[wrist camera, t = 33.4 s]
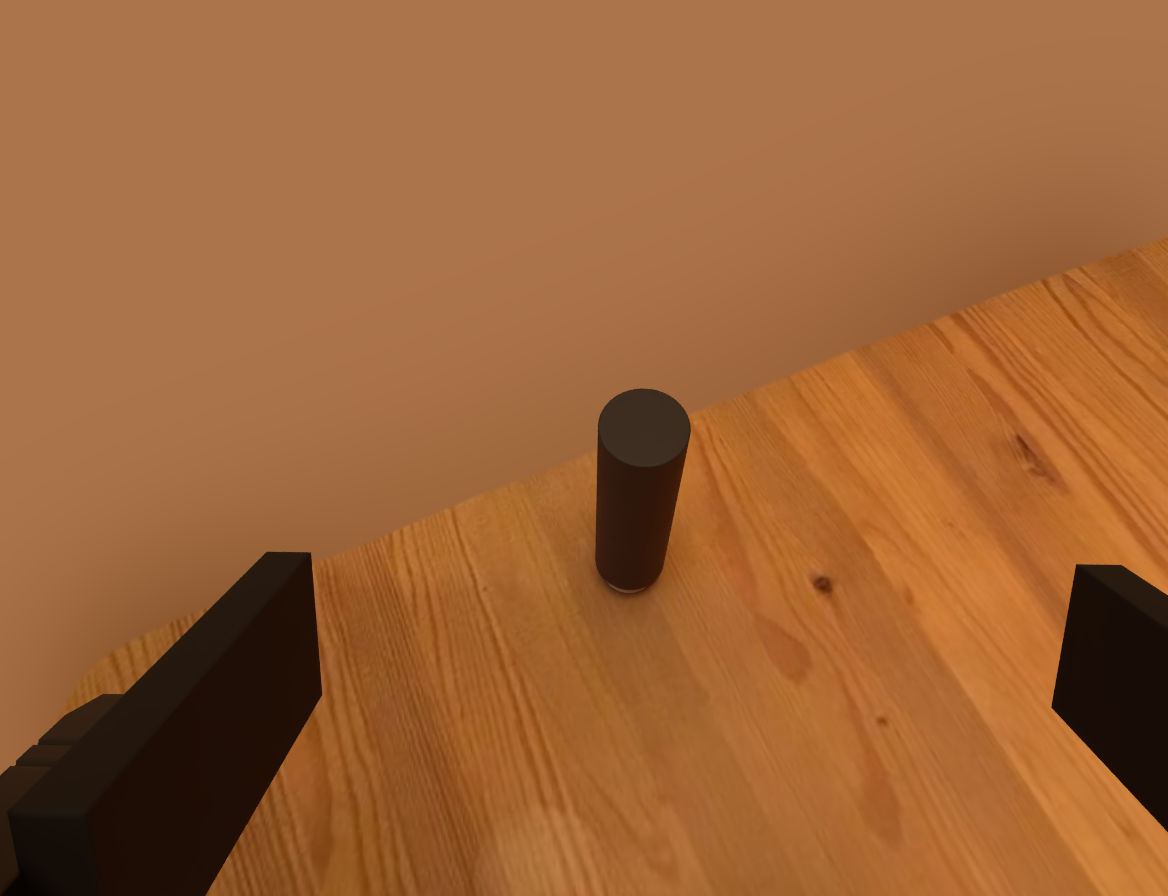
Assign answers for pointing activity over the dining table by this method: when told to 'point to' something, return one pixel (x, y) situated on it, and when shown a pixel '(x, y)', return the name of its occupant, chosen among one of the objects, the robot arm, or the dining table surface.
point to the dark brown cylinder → (637, 485)
